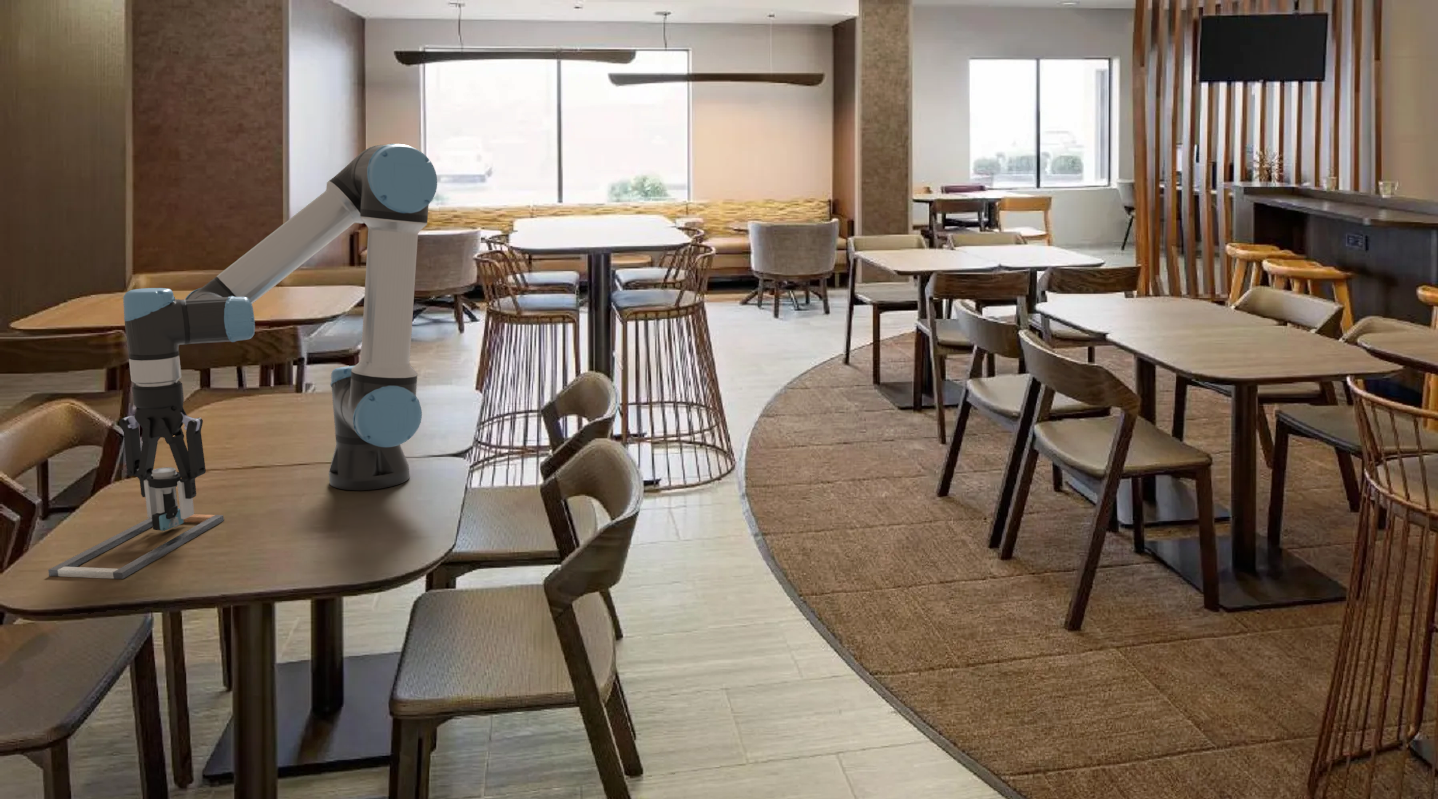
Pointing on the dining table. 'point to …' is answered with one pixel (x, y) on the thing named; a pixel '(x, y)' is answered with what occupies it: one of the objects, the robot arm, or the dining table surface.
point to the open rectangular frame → (71, 569)
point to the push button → (165, 498)
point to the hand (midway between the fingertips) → (171, 515)
